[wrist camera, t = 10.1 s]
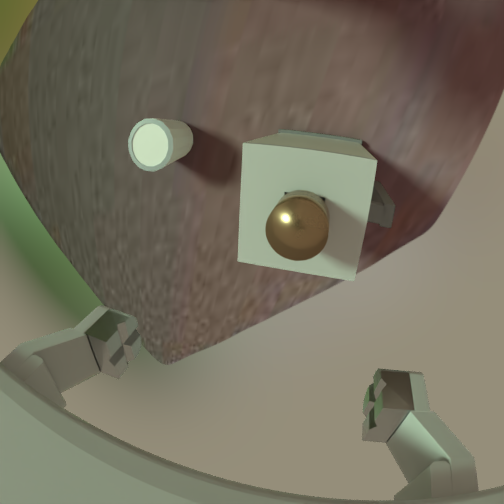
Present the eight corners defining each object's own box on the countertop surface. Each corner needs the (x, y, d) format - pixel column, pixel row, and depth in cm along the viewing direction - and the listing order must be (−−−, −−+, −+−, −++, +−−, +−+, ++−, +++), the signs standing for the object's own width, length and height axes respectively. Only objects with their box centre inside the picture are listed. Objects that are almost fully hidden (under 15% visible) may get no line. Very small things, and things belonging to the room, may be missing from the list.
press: (274, 205, 41) (232, 264, 26) (280, 128, 37) (238, 137, 21) (366, 220, 39) (384, 290, 23) (379, 143, 34) (414, 162, 18)
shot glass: (148, 134, 41) (119, 139, 35) (181, 106, 38) (154, 107, 32) (171, 171, 43) (144, 181, 37) (206, 145, 40) (182, 152, 34)
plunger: (285, 198, 39) (239, 272, 21) (289, 143, 36) (243, 168, 18) (340, 207, 37) (342, 290, 20) (348, 151, 34) (363, 185, 17)
